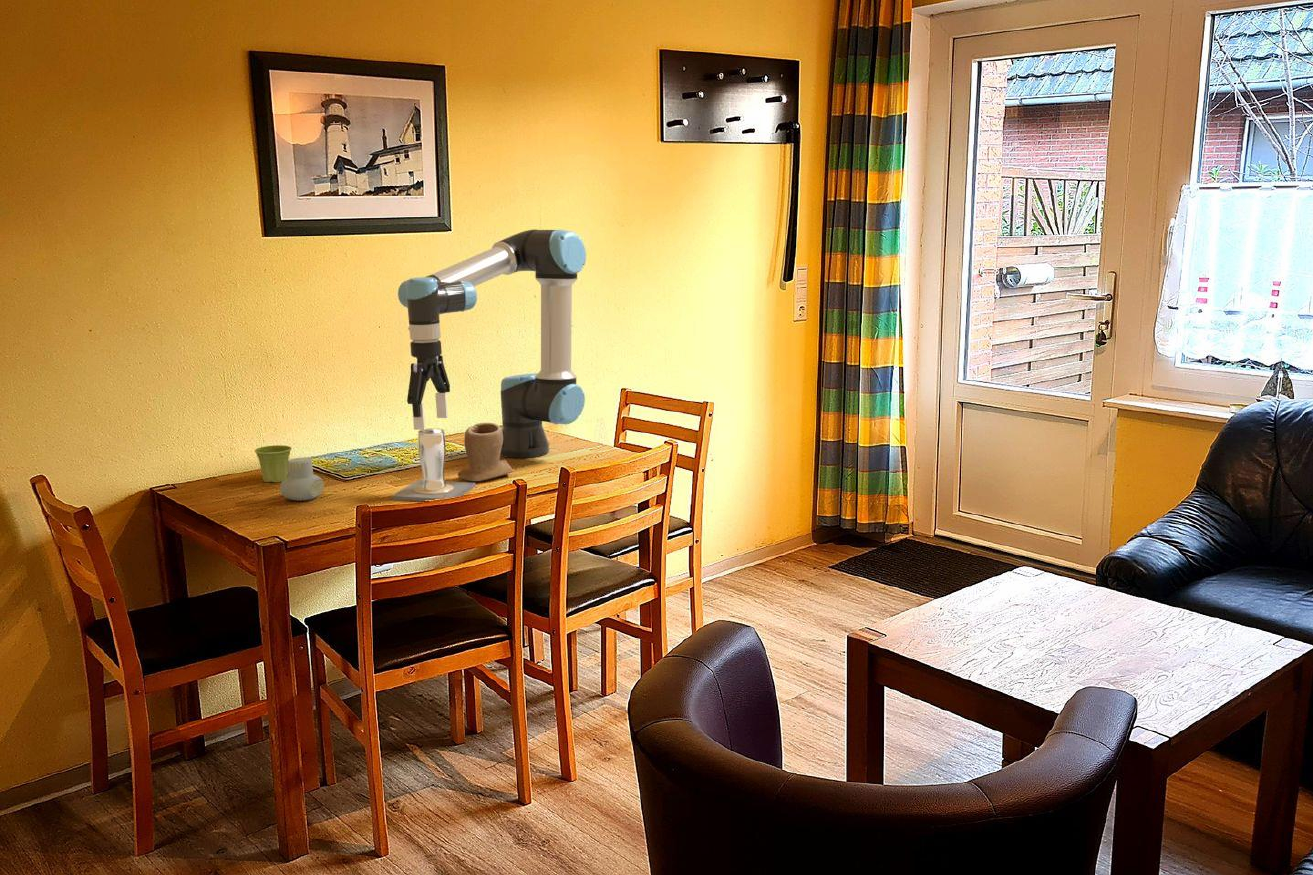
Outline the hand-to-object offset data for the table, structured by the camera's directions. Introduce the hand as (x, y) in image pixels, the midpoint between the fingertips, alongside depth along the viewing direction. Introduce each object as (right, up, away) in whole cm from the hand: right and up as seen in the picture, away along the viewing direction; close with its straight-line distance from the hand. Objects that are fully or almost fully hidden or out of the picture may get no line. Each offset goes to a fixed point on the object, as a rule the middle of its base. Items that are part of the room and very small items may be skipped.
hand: (431, 423), depth 286 cm
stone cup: (+12, -15, +18) cm, 26 cm away
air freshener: (-33, -19, +1) cm, 38 cm away
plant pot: (-46, -15, +19) cm, 52 cm away
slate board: (0, -18, +4) cm, 18 cm away
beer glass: (0, -17, +4) cm, 17 cm away
